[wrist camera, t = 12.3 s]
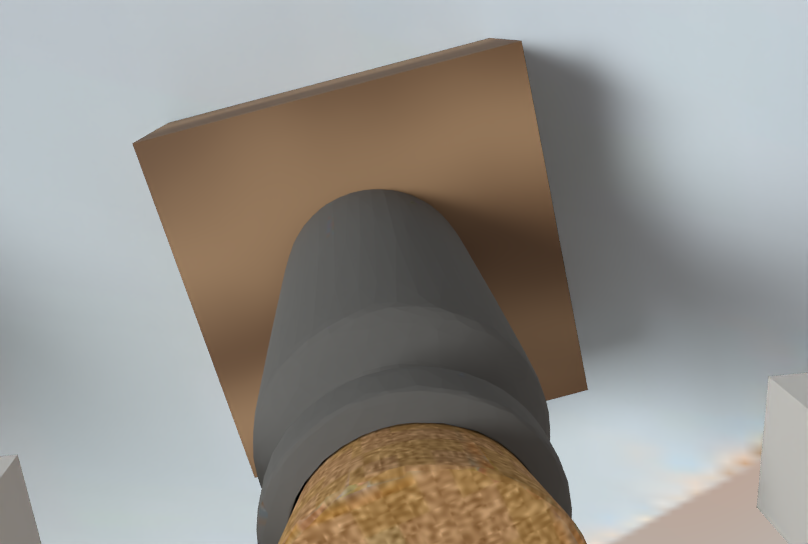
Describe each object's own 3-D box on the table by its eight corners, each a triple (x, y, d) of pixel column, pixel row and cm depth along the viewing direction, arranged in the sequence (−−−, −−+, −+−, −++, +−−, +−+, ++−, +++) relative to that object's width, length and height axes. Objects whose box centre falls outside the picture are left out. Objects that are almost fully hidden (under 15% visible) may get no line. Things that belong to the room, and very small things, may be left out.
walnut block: (168, 123, 27) (132, 143, 23) (489, 37, 27) (521, 40, 23) (267, 409, 31) (254, 477, 27) (550, 334, 31) (587, 389, 27)
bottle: (462, 178, 24) (644, 405, 10) (470, 349, 26) (636, 751, 11) (274, 195, 24) (177, 456, 9) (297, 367, 25) (246, 804, 11)
